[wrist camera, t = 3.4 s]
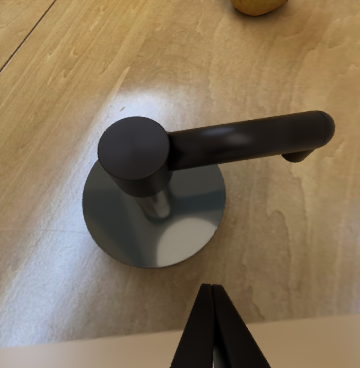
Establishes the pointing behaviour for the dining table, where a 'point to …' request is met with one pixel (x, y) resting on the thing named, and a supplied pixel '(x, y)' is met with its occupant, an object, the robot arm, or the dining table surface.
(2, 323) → the dining table surface
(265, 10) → the fruit
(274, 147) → the spout
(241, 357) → the robot arm
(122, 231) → the faucet base
